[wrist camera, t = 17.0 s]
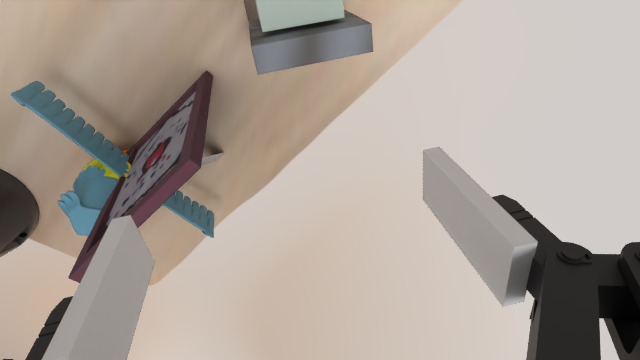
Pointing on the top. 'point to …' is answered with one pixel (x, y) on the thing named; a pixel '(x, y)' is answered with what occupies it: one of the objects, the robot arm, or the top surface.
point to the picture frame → (156, 166)
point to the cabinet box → (296, 12)
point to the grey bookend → (307, 41)
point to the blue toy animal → (97, 166)
